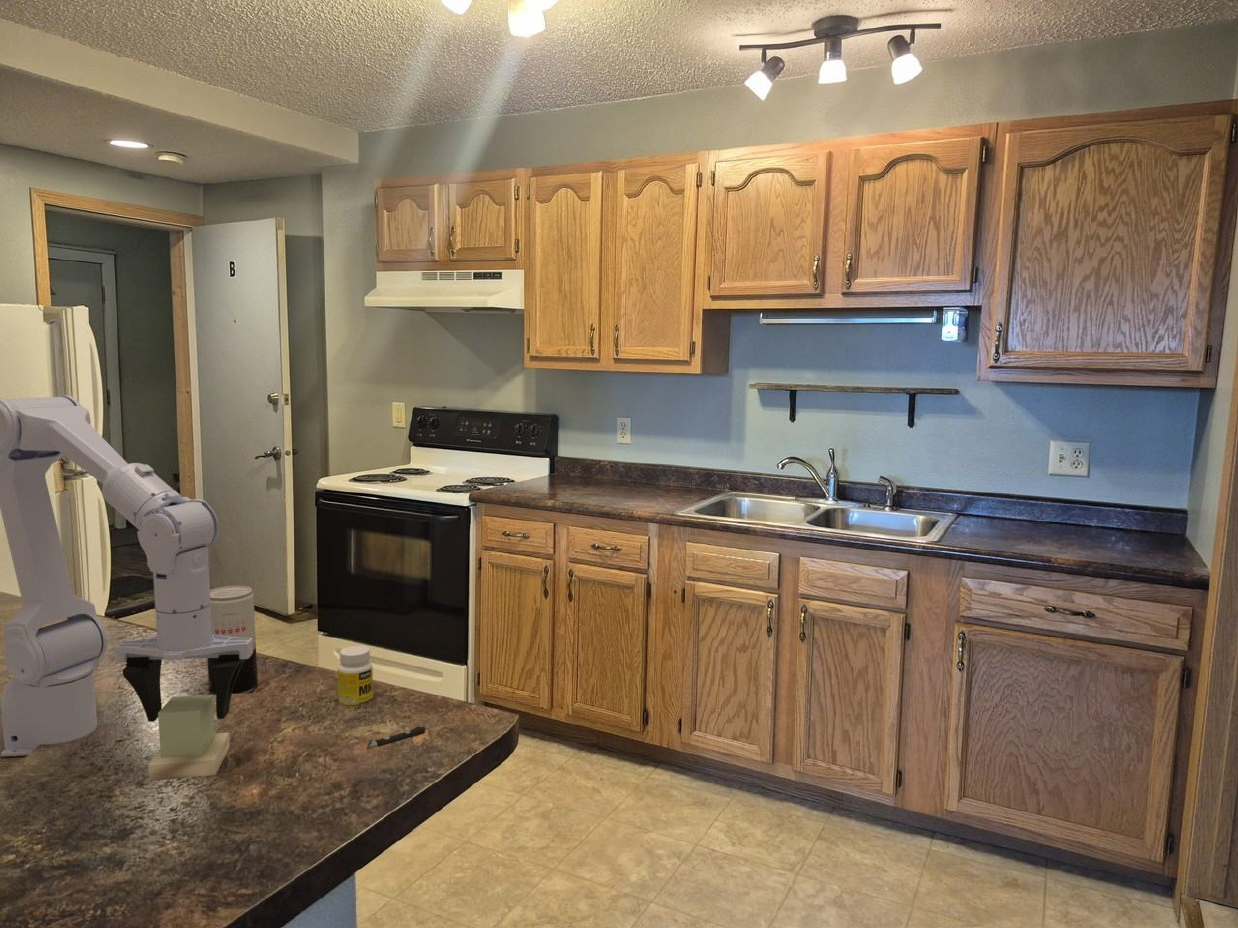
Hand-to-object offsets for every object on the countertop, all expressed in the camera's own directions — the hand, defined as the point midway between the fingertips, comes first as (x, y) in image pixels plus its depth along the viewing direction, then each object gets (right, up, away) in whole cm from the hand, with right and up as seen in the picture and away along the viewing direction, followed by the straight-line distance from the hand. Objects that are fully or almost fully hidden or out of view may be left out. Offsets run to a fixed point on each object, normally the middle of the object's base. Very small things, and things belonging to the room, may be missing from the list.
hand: (189, 716), depth 98 cm
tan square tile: (0, -6, +1) cm, 6 cm away
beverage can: (-6, -4, +25) cm, 26 cm away
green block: (0, -4, 0) cm, 4 cm away
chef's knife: (+17, -7, +8) cm, 20 cm away
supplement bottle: (+14, -5, +20) cm, 24 cm away
